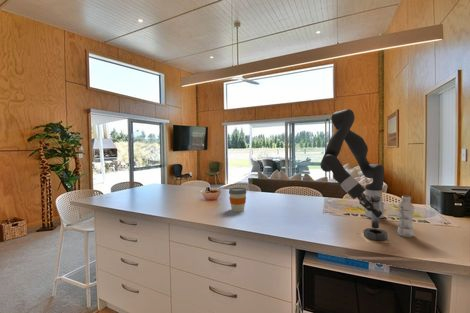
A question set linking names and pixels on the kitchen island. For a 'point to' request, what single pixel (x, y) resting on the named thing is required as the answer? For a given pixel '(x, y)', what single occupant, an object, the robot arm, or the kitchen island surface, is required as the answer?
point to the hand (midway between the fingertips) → (380, 215)
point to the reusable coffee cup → (237, 198)
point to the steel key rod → (376, 204)
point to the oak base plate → (376, 241)
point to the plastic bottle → (405, 217)
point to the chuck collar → (375, 234)
